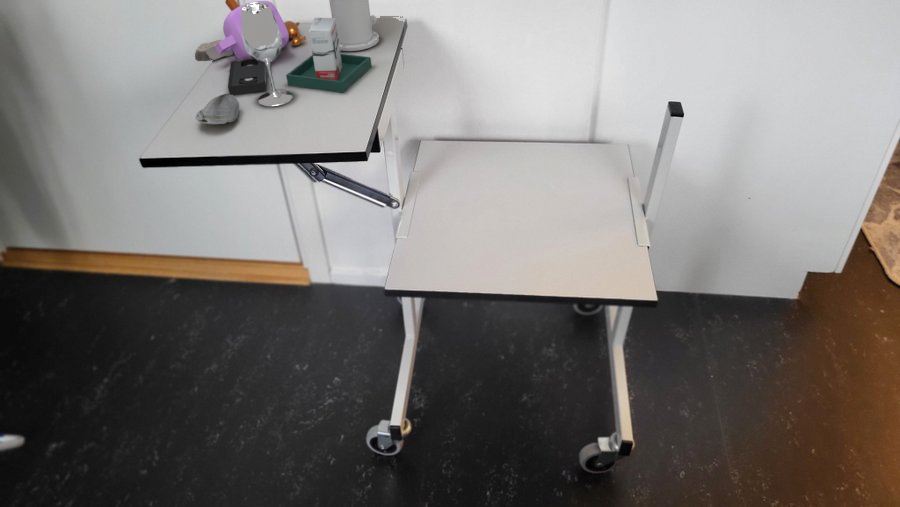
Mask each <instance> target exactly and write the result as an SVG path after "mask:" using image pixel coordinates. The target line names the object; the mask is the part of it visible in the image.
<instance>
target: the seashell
mask: <svg viewBox="0 0 900 507" xmlns="http://www.w3.org/2000/svg"><path fill="white" fill-rule="evenodd" d="M239 112H240V101H239V100H238V98H236V96H234V94H233V95H231V94H230V93H224V94H220V95H217V96H215V97H213V98H212V99H210V100H209V101H208V102H207V103H206V105H205V106H204V107H203V108H202V109H201V110H199V111H198V112H196V114H195V119H196V120H197V122H199V123H202V124H206V125H225V124H226V123H232V122H235V121H236V120H237V119H238V117H239Z"/></svg>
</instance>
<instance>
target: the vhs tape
mask: <svg viewBox="0 0 900 507" xmlns="http://www.w3.org/2000/svg"><path fill="white" fill-rule="evenodd" d="M267 72H268V71H267V68H266V65H265V63H263V62H259V61H257V60H255V59H251V60H234V61H233V60H232V61H230V66H229V74H228V83H227V89H228V92H229V93H228V94H231V95H233V96H234V95H241V94H249V93H255V92H256V93H257V92H264V91H267Z"/></svg>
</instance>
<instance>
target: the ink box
mask: <svg viewBox="0 0 900 507" xmlns="http://www.w3.org/2000/svg"><path fill="white" fill-rule="evenodd" d="M308 36H309V43H310V49H311V53H312V55H313V60H314V67H315V73H316V78H322V79H330V80H337V81H338V78H339V75H340V72H341V69H342V60H341V54H342V53H341V51H340V46H339V38H338V31H337V24H336V18H332V17H314V18H313V20H312V23H311V24H310V26H309V29H308Z"/></svg>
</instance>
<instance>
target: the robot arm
mask: <svg viewBox="0 0 900 507" xmlns="http://www.w3.org/2000/svg"><path fill="white" fill-rule="evenodd" d="M328 2H329V9H330V14H331V18H336V24H337V31H338V38H339V46H340V52H358V51H364V50H368V49H371V48H372V47H374V46H376V45H377V44H378V43H379V42H380V36H379V33H378V32H376V31H375V30H373V25H374V24H375V23H377V21H378V19H377V16H375V15H373V14H372V15H371V11H370V10H371V9H370V1H369V0H328Z"/></svg>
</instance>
